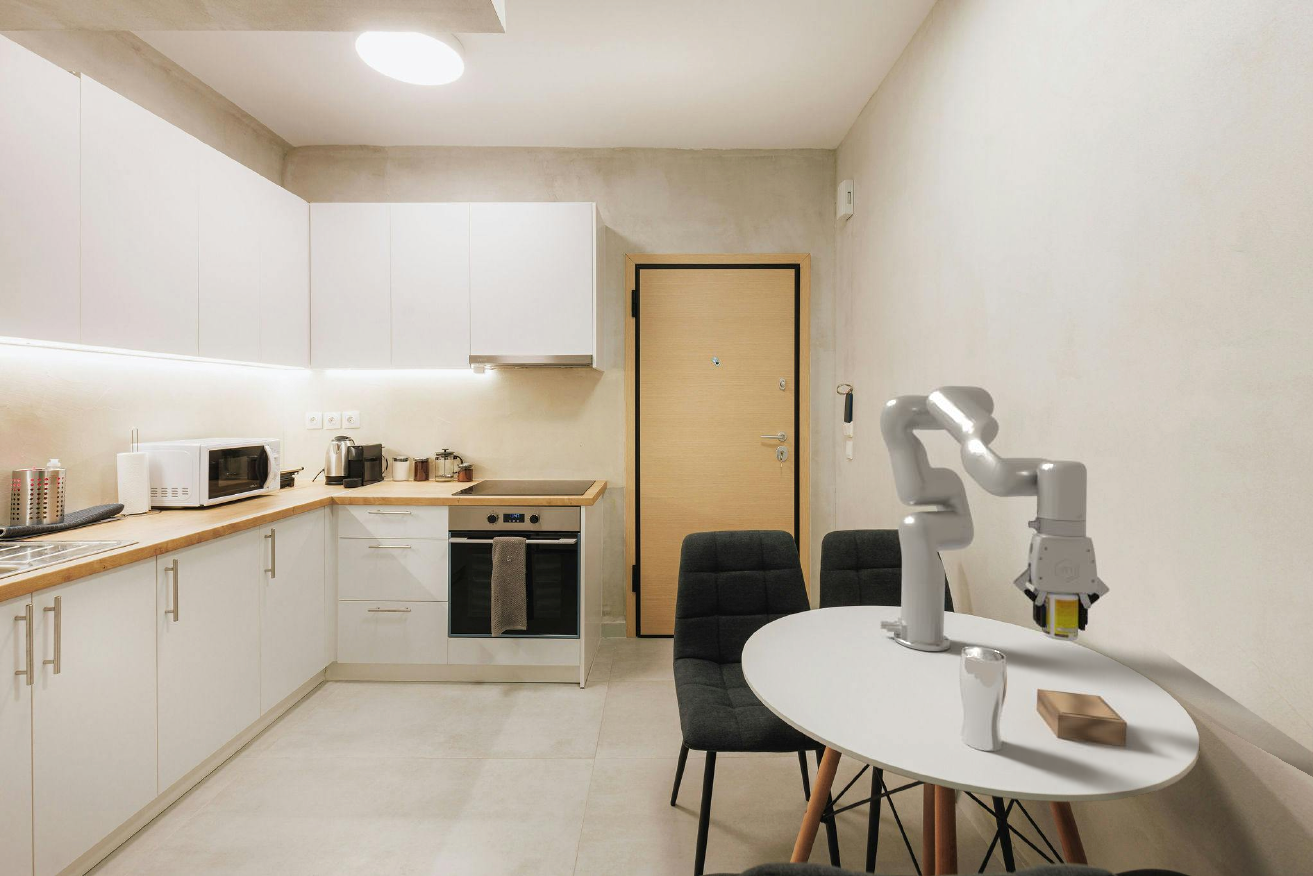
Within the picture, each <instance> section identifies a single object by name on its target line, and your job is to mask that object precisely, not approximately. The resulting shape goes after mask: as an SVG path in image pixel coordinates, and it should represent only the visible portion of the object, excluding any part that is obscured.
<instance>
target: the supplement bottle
mask: <svg viewBox="0 0 1313 876" xmlns="http://www.w3.org/2000/svg"><path fill="white" fill-rule="evenodd" d="M1043 605H1044V606H1045V607H1046V627H1045V628H1041V632H1042V635H1044V636H1045V637H1047V638H1049V639H1052V640H1057V641H1063V642H1072V641H1076V640H1077V639H1078V638H1079V629H1078V595H1077V594H1075V593H1058V592H1047V594H1046V597H1045V599H1044V601H1043Z"/></svg>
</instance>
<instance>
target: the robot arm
mask: <svg viewBox="0 0 1313 876" xmlns="http://www.w3.org/2000/svg"><path fill="white" fill-rule="evenodd" d="M994 409H995V404H994V398H993V397H992V395H991V394H990V393H989V391H987V390H986V389H984V388H982V387H979V386H974V385H973V386H970V385H969V386H967V385H966V386H965V385H964V386H963V385H945V386H940V387H937V388H935V389H934V390H933V391H931V392H930V393H929V395H921V394H919V395H918V394H917V395H915V394H913V395H912V394H907V395H898V396H895V397H892V398H890V399H889V400H888V401H887V402H886V403H885V404H884V405H883V407H882V409H881V412H880V418H879V426H880V431H881V435H882V438H883V441H884V443H885V446H886V448H887V450H888V453H889V457H890V458H889V459H890V464H891V469H892V473H893V478H894V482H895V483H894V484H895V488H896V491H897V492H896V493H897V496H898V498H899V500H900V502H901V503H902V504H904V505H905V506H908V507H935V509H936V510H926V511H925V510H923V511H914V512H910V513H908V514H906V515H904V516H903V517H902V518H901V519H900V521H899V523H898V529H897V530H898V539H899V544H900V552H901V596H900V598H901V599H900V600H901V603H900V617H898V618H897V620H893V622H892V621H886V620H880V624H879V627H880V628H879V629H880V630H886V633H887V632H888V633H893V640H894V641H896V643H898V644H899V645H901V646H904V647H906V648H910V649H913V650H914V649H915V650H917V651H918V650H919V651H925V652H941V651H946V650H948V649H950V647H951V639H949V637H948V636H946V635H945V634H944V632H945V630H944V629H945V627H944V624H945V598H946V596H945V594H946V593H945V591H946V570H945V567H944V564H943V562H942V561H941V559H940V557H939V554H938V552H945V551H957V550H965V549H966V548H968V547H969V546H971V544H972V542H973V539H974V536H975V527H974V522H973V518H972V513H971V509H970V505H969V501H968V496H967V491H966V488H965V484H964V481H963V480H962V478H961V477H960V476H959V474H958V473H957V472H956V471H954V470H953V469H951V468H947V467H932V466H931V465H930V462H929V457H928V453H927V449H926V448H925V446H924V444H923V442H922V441H921V439H920V438H919V437H918V436H917V435H916V434H915V433H914V431H916V430H920V431H927V430H928V431H929V430H931V431H938V430H939V431H944V430H945V431H946V432H947V433H948V434H949V435H950V436H951V437H952V438H953V439H954V440H955V441H956V442H957V443H958V444H959V445H960V459H961V464H962V466H963V468H964V470H965V472H966V473H967V474H968V476H970V477H971V478H972V479H973V480H974V482H975V483H976V484H977V485H978V486H980V487H981V488H982V489H983V490H984V491H986V493H989V494H990V495H993V496H995V497H1000V498H1012V497H1015V498H1016V497H1036V516H1035V519H1033V520H1028V522H1027V527H1028V528H1029V529H1033V530H1035V531H1036V533H1035V532H1034V533H1032V536H1031V539H1030V545H1029V550H1028V555H1027V565H1026V569H1025V570H1024V571H1023V572H1021V574H1020V575H1018V577H1016V579H1014V580H1013V582H1012V583H1013V585H1014V586H1015V587H1016V588H1017V589H1018V590H1020V591H1021V592H1022V593H1023V594H1024V595H1025V596H1026V597H1027V598H1028V599H1029V600H1030V601H1031V602H1032V619H1033V621H1034V622H1035V624H1036V625H1037V626H1038V627H1040V628H1041V629H1042V628H1045V627H1046V607H1045V606H1044V605H1043V601H1044V599H1045V597H1046V594H1047V592H1058V593H1075V594H1077V595H1078V630H1080V631H1082V632H1083V631H1084V632H1085V631H1086V626H1087V625H1088V623H1089V622H1088V620H1089V609H1091V608H1092V605H1094V604H1095V603H1096V602H1097V601H1099V600H1100V599H1101V597H1103V596H1104V595H1106V594H1107V593H1109V592H1110V587H1109V586H1108V585H1106V583H1104V581H1103V580H1101V578H1100V577H1099V576H1098V569H1097V560H1096V553H1095V547H1094V542H1093V540H1092V538H1091V537H1089V536H1087V497H1088V496H1087V495H1088V494H1087V491H1088V490H1087V489H1088V488H1087V487H1088V486H1087V485H1088V483H1087V481H1088V480H1087V479H1088V478H1087V477H1088V474H1087V467H1086V465H1085V464H1084V463H1083V462H1080V461H1075V460H1074V461H1073V460H1052V459H1047V458H1042V457H1041V458H1040V457H1002V456H1000V455H999V454H997V452H995V451H994V450H993V449H992V448H991V447H990V446H989V445H991V443H992V442H994V440H995V439H996V437H997V436H998V434H999V430H1000V429H999V428H1000V425H999V423H998V421H997V420H996V418H994V417H993V416H992V415H993V413H994ZM1027 583H1028V584H1029V585H1031V586H1033V587H1034V588H1033V591H1032V590H1031V589H1030V588H1029V587H1028V586H1027V585H1026V584H1027Z"/></svg>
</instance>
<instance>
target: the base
mask: <svg viewBox="0 0 1313 876" xmlns="http://www.w3.org/2000/svg"><path fill="white" fill-rule="evenodd" d="M1036 691H1037V693H1036V694H1037V695H1036V711H1037V712H1038V714H1039V715H1040V717H1041V718H1042V719H1043V721H1044V722H1045V723H1046V725H1047V726H1048V727H1049V728H1050V729H1051V730H1050V731H1052V732H1053V734H1054V735H1055V736H1056V738H1058V739H1065V740H1074V741H1081V742H1089V743H1096V744H1103V745H1104V744H1105V745H1111V746H1120V747H1126V746H1127V732H1128V731H1127V729H1128V728H1127V727H1128V726H1127V724H1128V722H1127V721H1126V720H1125V719H1124V718H1123V717H1122V716H1121V715H1120V714H1118V712H1116V710H1115V709H1114V708H1112V706H1110V705H1109V703H1107V702H1106V701H1105V700H1104V698H1102V697H1101V696H1100V695H1095V694H1094V695H1093V694H1087V693H1076V692H1067V691H1061V690H1060V691H1057V690H1048V689H1041V688H1037V690H1036Z"/></svg>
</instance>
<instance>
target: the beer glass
mask: <svg viewBox="0 0 1313 876" xmlns="http://www.w3.org/2000/svg"><path fill="white" fill-rule="evenodd" d="M1007 671H1008V669H1007V656H1006V655H1005V654H1004V653H1002V652H1001V651H998V650H996V649H992V648H989V647H986V646H975V645H972V646H965V647H962V648H961V655H960V663H959V687H960V688H959V689H960V696H961V702H962V709H963V723H962V727H961V732H960V740H961V741H962V742H963V743H965V745H967V746H968V747H970V748H973V749H975V750H979V751H981V752H997V751H999V750H1001V749H1002V746H1003V745H1002V743H1003V742H1002V738H1001V737H1002V736H1001V731H1000V727H1001V726H1000V725H1001V717H1002V713H1003V708H1004V705H1005V699H1006V696H1007V685H1008V672H1007Z"/></svg>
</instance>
